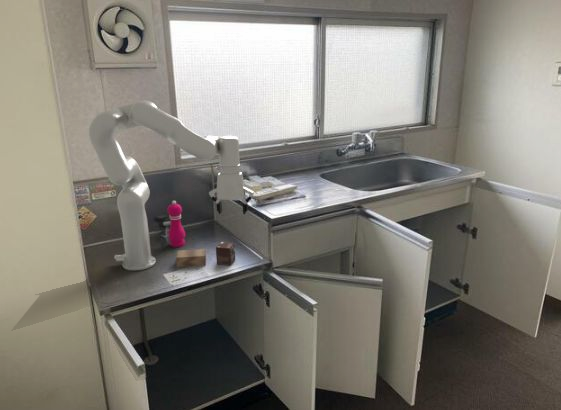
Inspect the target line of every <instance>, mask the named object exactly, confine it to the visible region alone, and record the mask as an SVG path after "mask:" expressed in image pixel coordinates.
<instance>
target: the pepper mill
mask: <svg viewBox="0 0 561 410" xmlns="http://www.w3.org/2000/svg"><path fill="white" fill-rule="evenodd" d="M182 212H183V207H182V206H181V205H180V204H178V203H177V201H176V200H172V201H171V204H170V205H169V206H168V207H167V213H168V214H169V217H168V218H169V219H170V227H169V230H168V232H167V233H168V234H167V235H168V236H167V237H168V238H169V240H170V241H169V244H170V246H171V247H174V248H178V247H183V246H184V245H185V244H186V241H185V237H186V231H185V229H184V227H183V226H182V222H181V219H182Z"/></svg>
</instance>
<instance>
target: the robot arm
mask: <svg viewBox="0 0 561 410" xmlns="http://www.w3.org/2000/svg"><path fill="white" fill-rule="evenodd" d="M136 127H141V128H143V129H145V130H147V131H149V132H150V133H154V134H155V135H158V136H159V137H161V138H164V140H166V141H168V142H170V143H171V144H173V145H174V146H176V147H177V148H178V149H181V150H182V151H184V152H185V153H187V154H189V155H191V156H192V157H195V158H198V159H199V160H202V161H209V160H212V159H214V158H215V156H216V155H218V162H219V165H218V166H215V170H216V171H219V173H218V174H217V177H216V178H217V180H216V188H214V189H212V190H210V191H209V192H208V194H209V196H210V197H211V200H212V201H213V202H215V204H216V211H217V212H218V214H219V215H220V214H222V212H223V204H222V201H241V202H242V203H243V204H242V214H243V215H246V213H247V212H248V211H249V210H248V209H249V207H248V206H249V205H248V203H249V202H250V201H251V200H252V198H253V196H254V194H255V191H253V190H251V189H249V188H247V187H246V186H245V179H244V175H243V173H242V172H241V164H240V162H241V161H240V160H241V159H240V146H239V145H240V143H239V138H238V137H237V136H235V135H233V136H232V135H224V136H216V135H215V136H214V135H206V136H202V135H199V134H198V133H195V132H194V131H192V130H191V129H189V128H187V127H186V126H185V125H184V124H183V122H182V121H181V120H180V119H179V118H177V117H175V116H173V115H171V114H169V113H167V112H165V111H164V110H161V109H159V108H158V106H157V105H156V104H155V103H154V102H152V101H150V100H145V99H144V100H140V101H136V102H134V103H130V104H127V105H123V106H119V107H115V108H110V109H106V110H104V111H102V112H100V113H98V114H97V115H96V116H95V117H94V119H93V120H92V121H91V123H90V125H89V128H88V136H89V140H90V143H91V145H92V147H93V149H94V151H95V153H96V155H97V157H98V159H99V162H100V163H101V166H102V168H103V170H104V173H105V175H106V176H107V178H108V180H109V181H110V182H111V184H112V185H115V186H121V187H122V189H121V190H120V192H119V193H118V195H117V198H116V199H117V200H116V205H117V208H118V212H119V213H118V214H119V219H120V224H121V230H122V239H123V246H124V253H123V254H114V260H115V261H116V263H119V262H122V264H121V265H122V267H123V269H124V270H126V271H127V270H128V271H131V272H132V271H135V272H136V271H142V270H146V269H149V268H151V267H153V266H154V265H156V263H157V260H156V258H155V256H153V255H152V252H151V242H150V231H149V225H148V223H149V222H148V217H147V212H146V208H145V205H146V202H147V201H148V200H149V198H150V194H151V192H150V191H151V190H150V188H149V185H148V182H147V180H146V178H145V176H144V173H143V172H142V169H141V168H140V166H139V164H138V162H137V161H136V160H135V159H134V158H133V157H132V156H129V155H125V154H124V152H123V150H122V146H120V143H119V141H117V139H116V136H115V135H116V134H118V133H120V132H123V131H125V130H128V129H133V128H136ZM215 194H216V195H217V196H216V195H215ZM246 194H248V197H246V196H245V195H246Z"/></svg>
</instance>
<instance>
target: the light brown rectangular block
mask: <svg viewBox="0 0 561 410" xmlns="http://www.w3.org/2000/svg"><path fill="white" fill-rule="evenodd" d="M206 251H207V249H206V248H200V249H196V248H195V249H183V250H177V253H176V256H175V260H176V262H175V263H176V268H184V267H199V266H206V264H207V263H206V262H207V252H206Z"/></svg>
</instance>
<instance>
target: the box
mask: <svg viewBox="0 0 561 410" xmlns="http://www.w3.org/2000/svg"><path fill="white" fill-rule="evenodd" d="M235 248H236V247H235V242H230V241H229V242H227V241H220V242H219V243H218V244H217V245H216V246H215V258H216V265H219V266H220V265H223V266H232V265H233V264H234V262H235V260H236V249H235Z"/></svg>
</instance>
